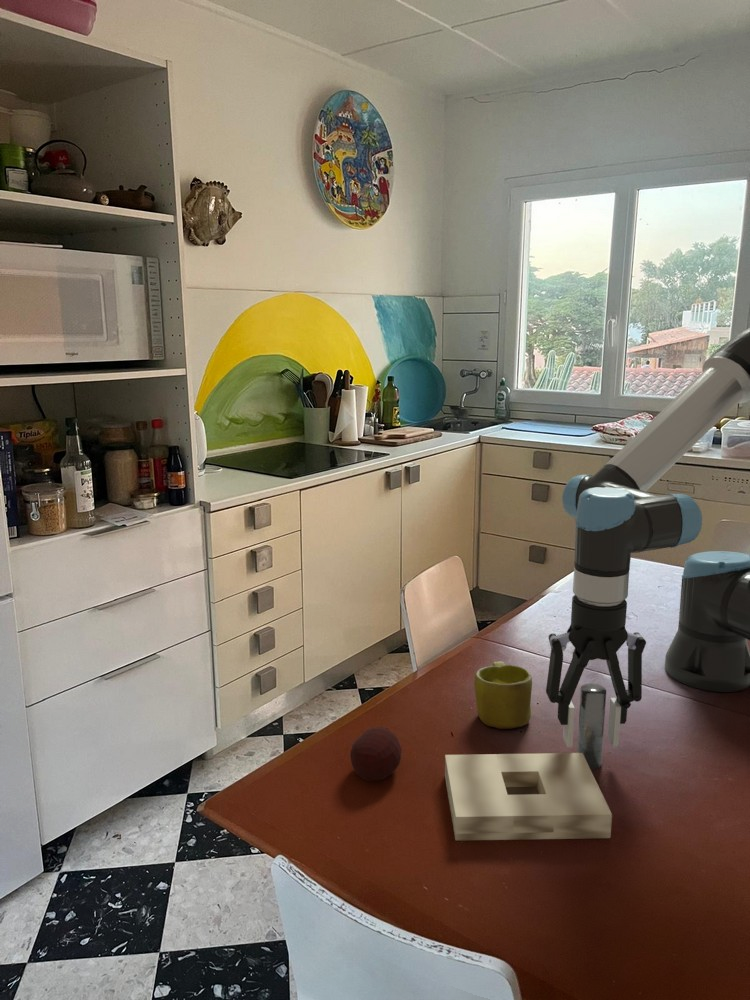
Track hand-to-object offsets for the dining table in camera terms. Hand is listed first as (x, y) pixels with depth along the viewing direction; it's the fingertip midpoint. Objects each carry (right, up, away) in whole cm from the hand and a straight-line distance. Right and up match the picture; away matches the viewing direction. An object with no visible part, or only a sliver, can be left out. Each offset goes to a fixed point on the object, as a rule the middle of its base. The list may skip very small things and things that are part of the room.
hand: (590, 741), depth 115 cm
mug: (-11, 0, +15) cm, 19 cm away
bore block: (-12, -6, -9) cm, 16 cm away
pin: (0, -3, +1) cm, 3 cm away
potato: (-32, -4, -1) cm, 32 cm away
